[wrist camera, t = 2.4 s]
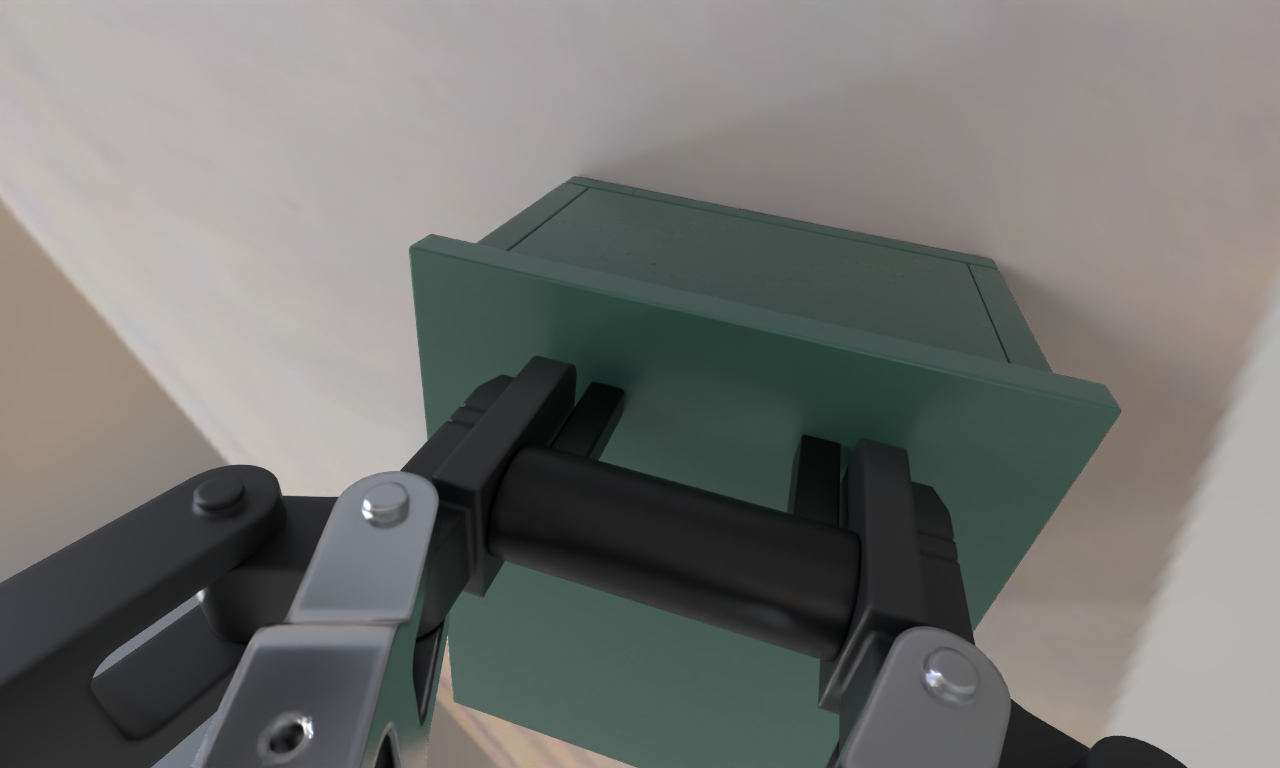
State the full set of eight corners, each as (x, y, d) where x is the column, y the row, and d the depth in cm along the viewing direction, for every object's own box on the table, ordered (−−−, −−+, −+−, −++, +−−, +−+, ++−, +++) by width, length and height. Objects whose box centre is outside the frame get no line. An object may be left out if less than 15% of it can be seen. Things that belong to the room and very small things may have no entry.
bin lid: (430, 232, 12) (232, 348, 8) (1107, 383, 10) (1267, 632, 6) (465, 679, 21) (375, 840, 17) (835, 809, 19) (831, 1026, 15)
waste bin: (573, 175, 19) (434, 270, 13) (994, 258, 17) (1081, 421, 11) (555, 516, 27) (465, 678, 21) (838, 599, 25) (835, 807, 19)
